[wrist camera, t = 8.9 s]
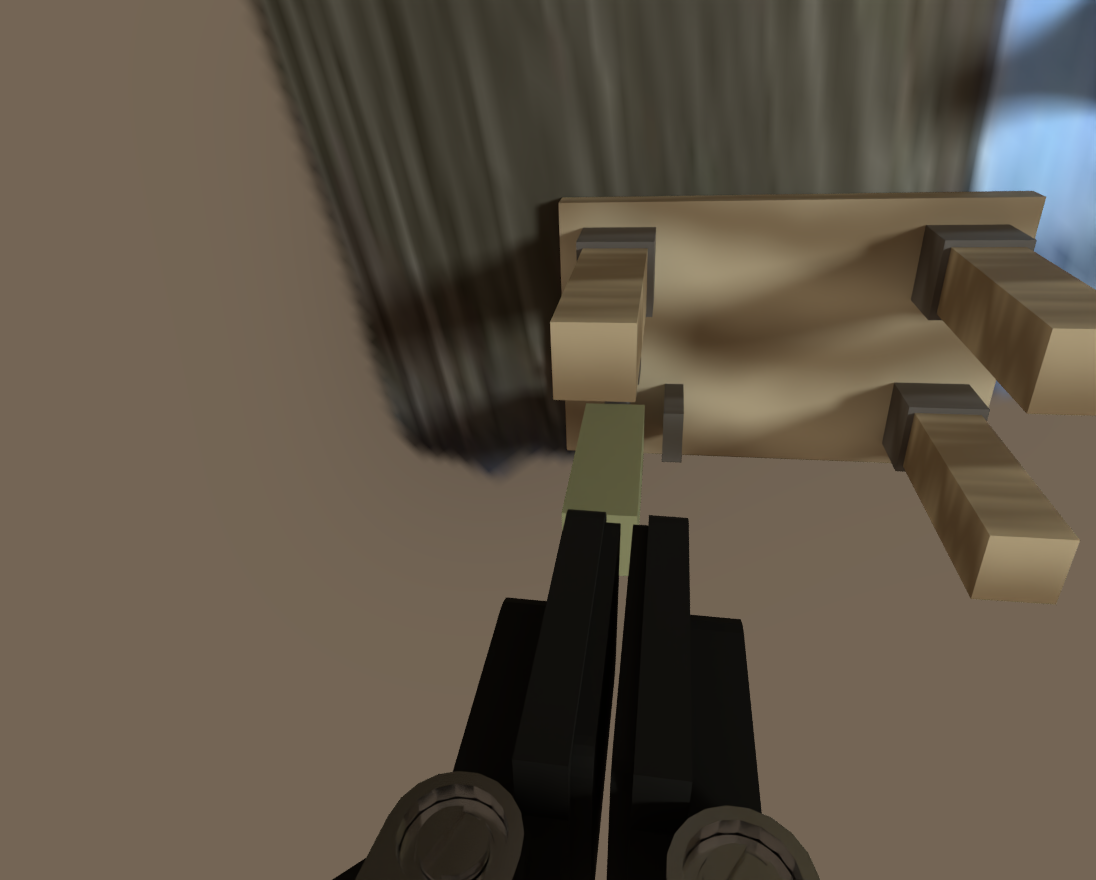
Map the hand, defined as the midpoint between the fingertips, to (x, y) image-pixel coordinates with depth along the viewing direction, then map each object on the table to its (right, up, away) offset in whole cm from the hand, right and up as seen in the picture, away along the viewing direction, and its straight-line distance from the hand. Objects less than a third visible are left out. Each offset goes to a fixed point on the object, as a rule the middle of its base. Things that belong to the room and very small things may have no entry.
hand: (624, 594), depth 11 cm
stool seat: (+11, +8, +29) cm, 32 cm away
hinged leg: (+3, +4, +30) cm, 30 cm away
